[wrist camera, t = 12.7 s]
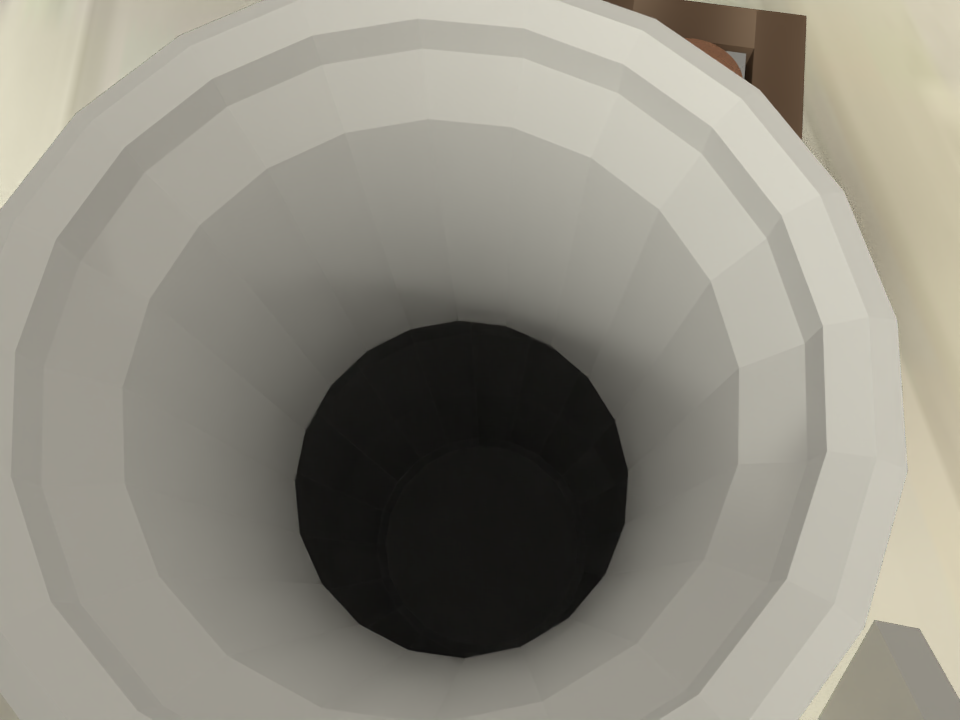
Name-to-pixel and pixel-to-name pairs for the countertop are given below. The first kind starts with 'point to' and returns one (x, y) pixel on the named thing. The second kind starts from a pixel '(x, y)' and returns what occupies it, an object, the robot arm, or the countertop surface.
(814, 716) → the countertop surface
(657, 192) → the bottle
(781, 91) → the button housing
